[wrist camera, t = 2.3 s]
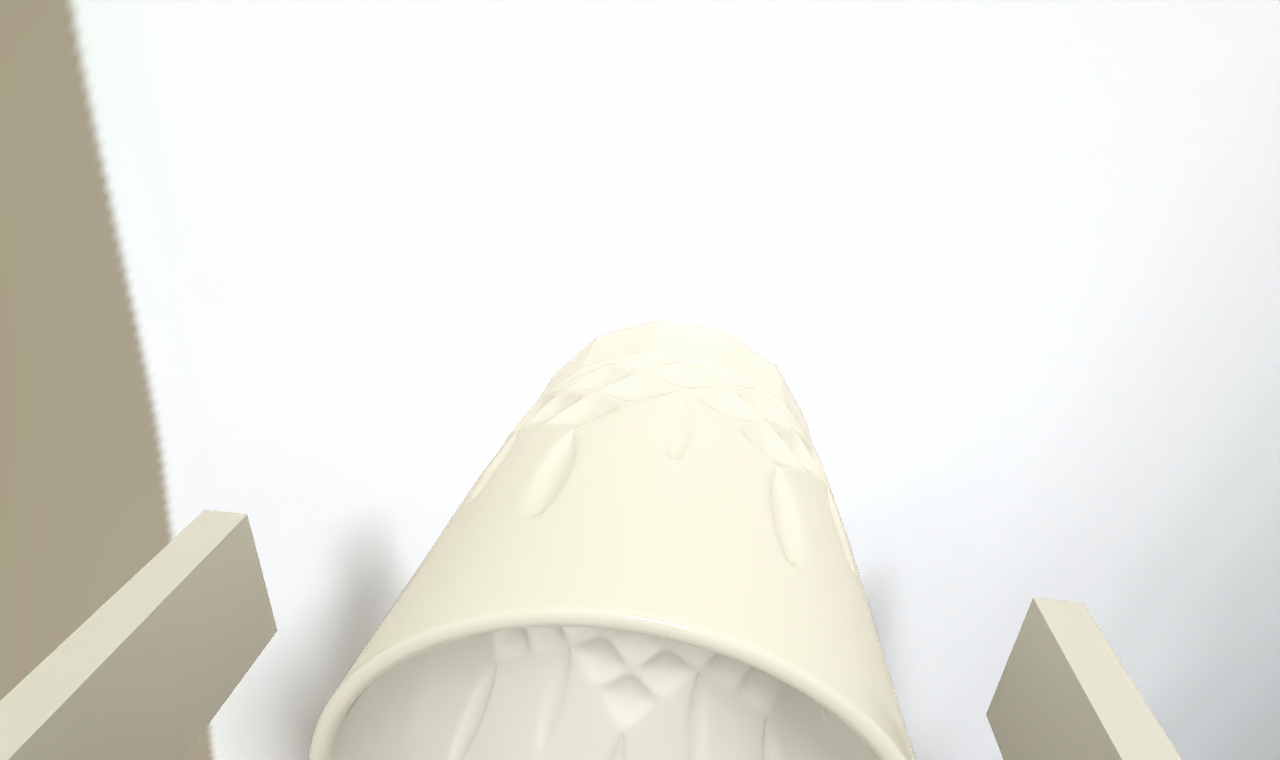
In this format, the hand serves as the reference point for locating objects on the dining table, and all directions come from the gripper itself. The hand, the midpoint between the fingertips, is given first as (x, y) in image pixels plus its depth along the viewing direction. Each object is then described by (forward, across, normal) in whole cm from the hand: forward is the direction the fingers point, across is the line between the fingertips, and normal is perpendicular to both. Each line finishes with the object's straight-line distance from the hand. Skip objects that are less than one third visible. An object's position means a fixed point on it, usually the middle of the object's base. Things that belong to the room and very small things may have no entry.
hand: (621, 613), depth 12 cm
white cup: (+7, 0, 0) cm, 7 cm away
